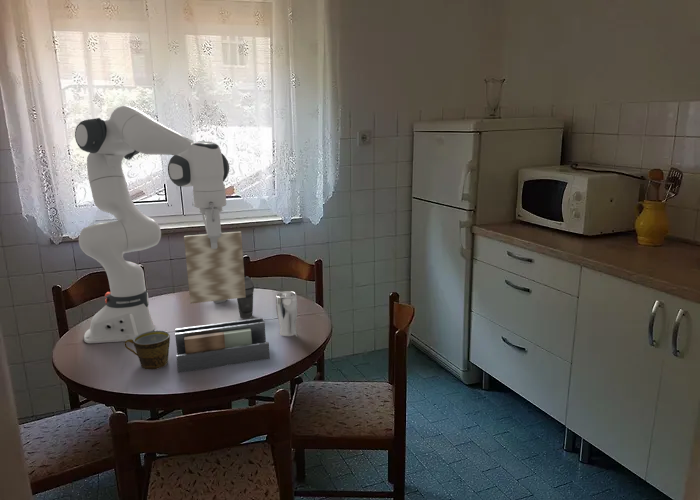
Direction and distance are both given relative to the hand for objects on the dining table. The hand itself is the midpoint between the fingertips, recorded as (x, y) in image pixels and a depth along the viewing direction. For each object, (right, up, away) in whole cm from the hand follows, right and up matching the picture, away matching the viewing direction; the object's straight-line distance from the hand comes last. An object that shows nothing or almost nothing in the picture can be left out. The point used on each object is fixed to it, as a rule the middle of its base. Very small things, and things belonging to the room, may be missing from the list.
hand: (213, 247), depth 151 cm
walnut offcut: (-2, -34, +1) cm, 34 cm away
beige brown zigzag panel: (0, -16, +4) cm, 16 cm away
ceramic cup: (-19, -36, +2) cm, 41 cm away
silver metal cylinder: (+19, -30, +23) cm, 42 cm away
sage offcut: (+5, -33, +6) cm, 34 cm away
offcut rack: (+1, -34, +6) cm, 35 cm away
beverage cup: (+1, -26, +42) cm, 49 cm away
